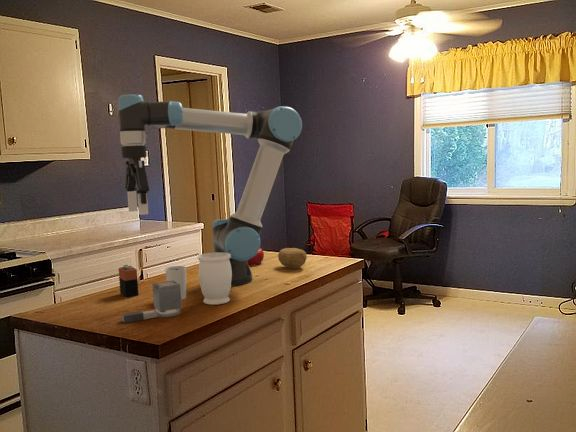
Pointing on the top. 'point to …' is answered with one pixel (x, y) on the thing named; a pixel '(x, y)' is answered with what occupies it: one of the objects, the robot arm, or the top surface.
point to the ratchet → (148, 315)
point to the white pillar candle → (177, 277)
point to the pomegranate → (256, 258)
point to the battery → (128, 281)
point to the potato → (292, 257)
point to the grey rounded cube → (167, 295)
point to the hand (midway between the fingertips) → (138, 212)
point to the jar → (215, 277)
